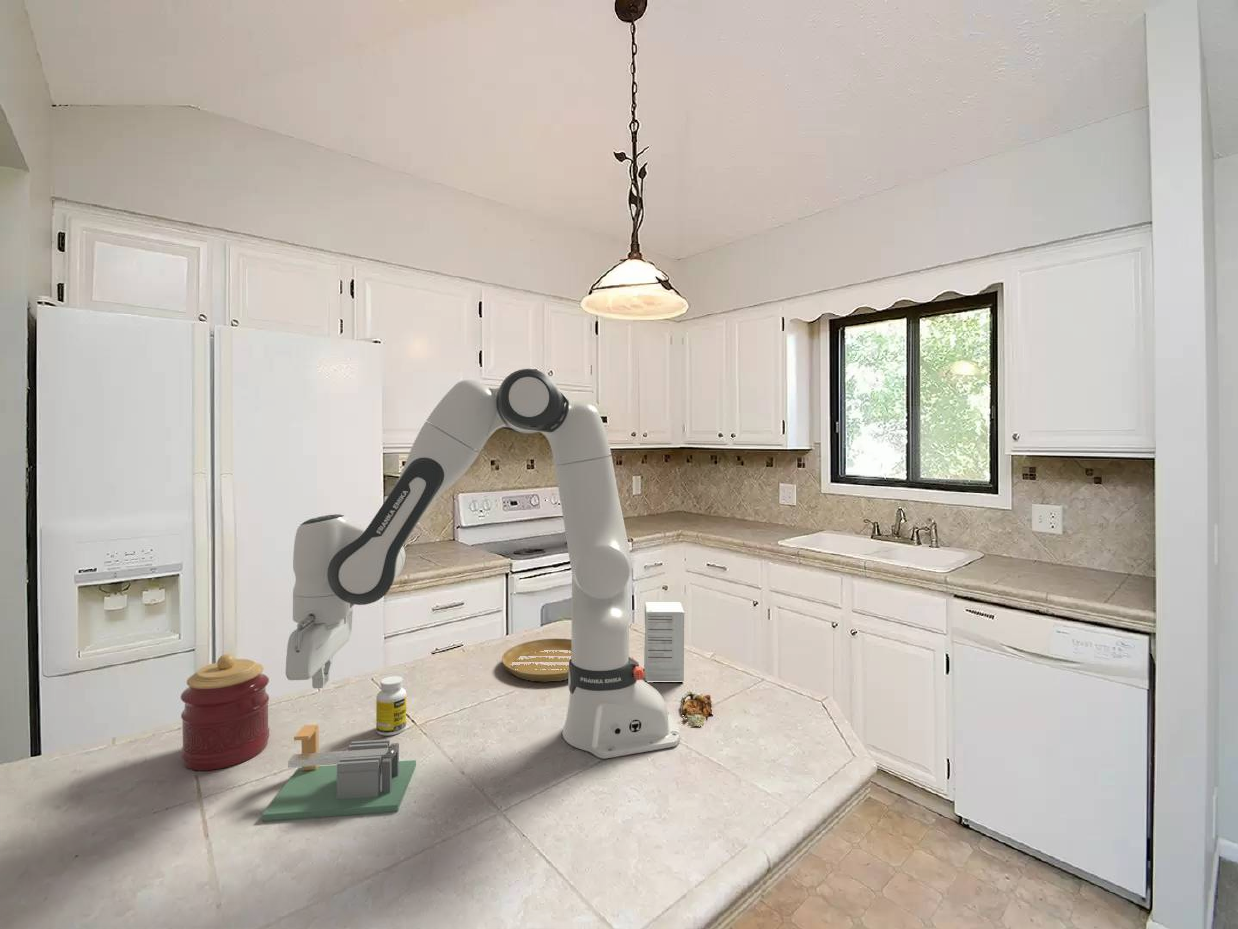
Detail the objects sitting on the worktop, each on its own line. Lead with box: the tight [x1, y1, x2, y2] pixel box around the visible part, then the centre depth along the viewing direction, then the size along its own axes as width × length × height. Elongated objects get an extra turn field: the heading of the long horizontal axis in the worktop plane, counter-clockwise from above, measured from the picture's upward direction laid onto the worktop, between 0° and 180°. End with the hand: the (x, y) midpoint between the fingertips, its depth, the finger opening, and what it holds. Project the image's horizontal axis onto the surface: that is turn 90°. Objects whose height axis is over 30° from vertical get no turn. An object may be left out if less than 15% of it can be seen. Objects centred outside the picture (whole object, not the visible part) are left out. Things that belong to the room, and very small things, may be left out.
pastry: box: [680, 690, 713, 728], centre depth 118 cm, size 7×12×4 cm, turn 176°
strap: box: [287, 744, 398, 769], centre depth 90 cm, size 16×3×1 cm, turn 97°
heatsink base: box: [261, 738, 417, 822], centre depth 91 cm, size 19×12×6 cm, turn 97°
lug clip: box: [293, 724, 320, 770], centre depth 94 cm, size 2×4×7 cm, turn 7°
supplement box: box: [643, 601, 685, 681], centre depth 138 cm, size 10×9×17 cm
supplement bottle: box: [375, 675, 407, 737], centre depth 110 cm, size 5×5×10 cm
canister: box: [180, 653, 270, 771], centre depth 102 cm, size 13×13×18 cm
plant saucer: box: [501, 638, 571, 683], centre depth 143 cm, size 24×24×3 cm
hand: (320, 685), depth 101 cm, fingers closed
